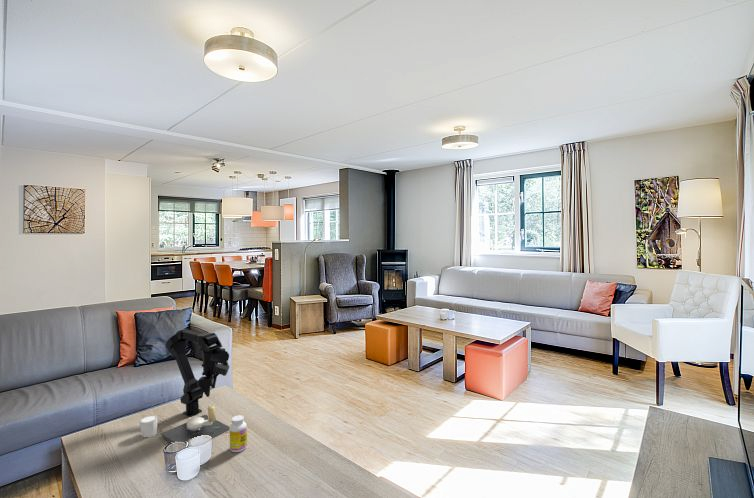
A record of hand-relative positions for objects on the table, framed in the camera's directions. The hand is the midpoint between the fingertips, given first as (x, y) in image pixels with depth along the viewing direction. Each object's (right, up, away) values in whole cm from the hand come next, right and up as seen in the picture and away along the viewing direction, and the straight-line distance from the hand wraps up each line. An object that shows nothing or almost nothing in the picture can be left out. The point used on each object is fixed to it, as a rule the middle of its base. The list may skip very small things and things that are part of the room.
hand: (210, 392), depth 174 cm
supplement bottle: (+22, -14, -23) cm, 35 cm away
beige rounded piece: (+1, -10, -12) cm, 15 cm away
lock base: (-1, -14, -12) cm, 18 cm away
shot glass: (-22, -14, -12) cm, 29 cm away
